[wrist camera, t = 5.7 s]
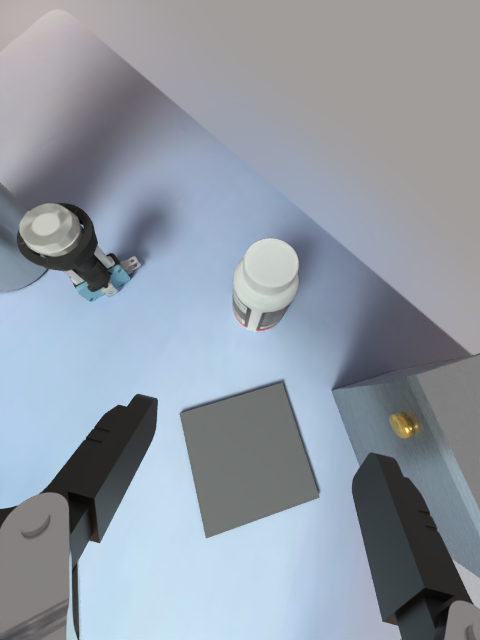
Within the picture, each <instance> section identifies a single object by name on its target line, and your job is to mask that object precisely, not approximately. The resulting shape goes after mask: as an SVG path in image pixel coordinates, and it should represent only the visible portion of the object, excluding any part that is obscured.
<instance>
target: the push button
mask: <svg viewBox="0 0 480 640" xmlns="http://www.w3.org/2000/svg"><path fill="white" fill-rule="evenodd" d="M80 224H82V225H84V229H83V228H82V226H81V225H80ZM19 226H20V228H19V230H18V233H17V246H18V249H19V251H20V252H21V254H22V255H23V256H24V257H25V258H26V259H28V260H29V261H31V262H32V263H34V264H36V265H39V266H43V267H44V268H46V269H53V270H60V271H63V272H65V273H66V274H67V275H69V277H70V279H71V281H72V282H73V284H74V286H75V288H76V289H77V291H78V293H79V294H80V295H82V296H83V297H85V298H86V299H87V300H89V301H94V300H96V299H97V298H99V297H101V296H103V295H104V294H106V295H107V296H108V297H110V296H112V295H114V294H116V293H117V292H118V291H117V290H116V288H117V287H119V286H121V285H122V284H124V283H126V282H128V281H129V280H130V277H129V275H128V274H130V273H132V272H133V270H135V269H137V268H138V267H140V266H141V265H140V263H139V261H138V260H137V258H136V257H135V256H133V257H131V258H129V259H128V260H126V261H125V260H123V261H121V262H119V260H118V259H117V258H116V256H115V255H114V254H113V253H110V254H108V255H105V254H104V253H103V251H102V250H101V249H100V248H99V247H98V246H97V244H98V241H97V238H96V234H95V231H94V226H93V223H92V221H91V219H90V218H89V216H88V215H87V214H86V213H85V212H84V211H83V210H82V209H80V208H79V207H77V206H74V205H71V204H65V203H57V204H50V203H49V204H44V205H40V206H36V207H35V208H33V209H32V210H30V211H29V212H27V213H26V214H25V216H24V217H23V219H22V220H21V222H20V225H19ZM40 253H41V254H42V255H44V256H45V257H46V258H45V257H41V256H40ZM132 259H133V260H134V262H131V260H132ZM134 264H137V266H136V267H134V266H133V265H134ZM111 291H114V292H113V293H111V294H110V292H111Z"/></svg>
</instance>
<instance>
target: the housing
mask: <svg viewBox="0 0 480 640" xmlns="http://www.w3.org/2000/svg"><path fill="white" fill-rule="evenodd" d="M332 393H333V396H334V398H335V401H336V404H337V406H338V409H339V412H340V414H341V417H342V420H343V422H344V425H345V428H346V430H347V433H348V436H349V438H350V441H351V444H352V446H353V449H354V452H355V454H356V457H357V460H358V462H359V465H360V466H361V465H362V463H363V462H364V460H365V459H366V457H367V455H368V454H369V453H371V452H373V453H377V454H381V455H385V456H389V457H393V458H394V459H395V460H396V461H397V462H398V465H399V467H400V469H401V471H402V474H403V476H404V477H407V478H409V479H410V480H411V481H412V483H413V484H414V485H415V486H416V488H417V489H418V490H419V492H420V493H421V494H422V496H423V498H424V500H425V502H426V505H427V507H428V509H429V511H430V516H432V517H433V520H434V522H435V524H436V526H437V531H438V532H439V533H440V535H441V537H442V539H443V541H444V543H445V545H446V548H447V550H448V552H449V554H450V556H451V558H452V559H453V560H455V561H456V562H458V563H459V564H461V565H462V566H463V567H465V568H466V569H468V570H469V571H471V572H472V573H473V574H475V575H476V576H478V577H479V578H480V354H476V355H473V356H468V357H462V358H457V359H452V360H447V361H442V362H436V363H431V364H426V365H421V366H415V367H410V368H405V369H400V370H395V371H392V372H388V373H385V374H382V375H379V376H375V377H372V378H369V379H366V380H363V381H359V382H356V383H353V384H350V385H346V386H343V387H340V388H337V389H333V390H332Z"/></svg>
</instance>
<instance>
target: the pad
mask: <svg viewBox="0 0 480 640" xmlns="http://www.w3.org/2000/svg"><path fill="white" fill-rule="evenodd" d="M180 417H181V422H182V426H183V431H184V436H185V441H186V445H187V450H188V455H189V460H190V464H191V469H192V474H193V479H194V483H195V488H196V493H197V498H198V503H199V507H200V512H201V517H202V522H203V526H204V531H205V536H206V538H209V537H211V536H214V535H217V534H220V533H222V532H225V531H228V530H231V529H234V528H236V527H239V526H242V525H245V524H247V523H250V522H253V521H256V520H258V519H261V518H264V517H267V516H270V515H272V514H275V513H278V512H281V511H283V510H286V509H289V508H292V507H295V506H297V505H300V504H303V503H306V502H308V501H311V500H314V499H317V498H319V494H318V491H317V488H316V485H315V481H314V478H313V475H312V472H311V469H310V466H309V463H308V460H307V457H306V454H305V451H304V448H303V445H302V441H301V438H300V435H299V432H298V429H297V426H296V423H295V420H294V417H293V414H292V411H291V408H290V405H289V402H288V398H287V395H286V392H285V389H284V386H283V383H279V384H276V385H273V386H269V387H266V388H262V389H259V390H256V391H252V392H249V393H246V394H242V395H239V396H236V397H232V398H229V399H226V400H222V401H219V402H216V403H212V404H209V405H206V406H202V407H199V408H195V409H192V410H189V411H185V412H182V413H180Z"/></svg>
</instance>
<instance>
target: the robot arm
mask: <svg viewBox="0 0 480 640" xmlns="http://www.w3.org/2000/svg"><path fill="white" fill-rule="evenodd" d="M27 212H29V210H28V209H27V208H26V207H25V206H24V205H23V204H22V203H21V202H20V201H19V200H18V199H17V198H16V197H15V196H14V195H13V194H12V193H11V192H10V191H9V190H8V189H7V188H6V187H5V186H4V185H2V184H1V183H0V292H10V291H15V290H18V289H21V288H23V287H26V286H27V285H29V284H31V283H32V282H34V281H35V280H37V279H38V278H39V277H40V276H41V275H42V274H43V273H44V272H45V271H46V268H44V267H43V266H39V265H36V264H34V263H32V262H31V261H29V260H28V259H26V258H25V257H24V256H23V255H22V254H21V252H20V251H19V249H18V246H17V233H18V230H19V228H20V226H19V225H20V222H21V220H22V219H23V217H24V216H25V214H26V213H27ZM40 256H41V257H45V256H44V255H42V254H41V253H40ZM45 258H46V257H45ZM157 406H158V400H157V398H153V397H149V396H145V395H141V394H136V395H135V396H134V398H133V399H132V400H131V402H130V403H129V405H128V406H127V407H126V406H122V405H117V406H116V407H114V408H113V409H111V410H110V411H108V412H107V413H105V414H104V415H103V417H102V418H101V419H100V420H99V422H98V423H97V424H96V426H95V428H94V429H92V431H91V432H90V433H89V435H88V436H87V437H86V440H84V441H83V442H82V443H81V445H80V446H79V447H78V449H77V450H76V451H75V452H74V454H73V455H72V456H71V457H70V459H69V460H68V461H67V463H66V464H65V465H64V466H63V468H62V469H61V470H60V472H59V473H58V474H57V475H56V477H55V478H54V479H53V480H52V482H51V483H50V484H49V485H48V486H47V487H46V488H45V489H44V490H43V491H42V492H41V493H40V494H38V495H36V496H33V497H31V498H29V499H27V500H25V501H24V502H22V503H21V504H20V505H18V506H14V507H11V508H5V509H0V640H81V610H80V578H79V558H80V556H81V555H82V553H83V551H84V549H85V547H86V545H87V544H88V542H89V540H90V541H93V542H97V543H100V542H101V540H102V538H103V536H104V534H105V532H106V530H107V528H108V526H109V524H110V522H111V520H112V518H113V516H114V514H115V512H116V510H117V508H118V507H119V505H120V503H121V501H122V499H123V497H124V495H125V493H126V491H127V489H128V487H129V485H130V483H131V481H132V479H133V477H134V475H135V473H136V471H137V469H138V467H139V465H140V463H141V462H142V460H143V458H144V456H145V454H146V452H147V450H148V448H149V446H150V444H151V442H152V439H153V437H154V434H155V430H156V423H157ZM352 494H353V499H354V503H355V507H356V511H357V516H358V520H359V524H360V528H361V532H362V537H363V541H364V545H365V549H366V554H367V558H368V562H369V566H370V570H371V575H372V579H373V583H374V587H375V592H376V596H377V600H378V604H379V608H380V613H381V617H382V621H383V622H386V623H390V624H394V625H397V626H399V630H400V633H401V637H402V638H401V639H400V640H480V609H479V608H477V607H476V606H474V604H473V602H472V601H471V599H470V597H469V595H468V593H467V591H466V589H465V586H464V584H463V582H462V580H461V578H460V576H459V573H458V571H457V569H456V567H455V565H454V563H453V561H452V558H451V556H450V554H449V552H448V550H447V548H446V545H445V543H444V541H443V539H442V537H441V535H440V533H439V532H438V531H437V526H436V524H435V522H434V520H433V517H432V516H430V511H429V509H428V507H427V505H426V502H425V500H424V498H423V496H422V494H421V493H420V492H419V490H418V489H417V488H416V486H415V485H414V484H413V483H412V481H411V480H410V479H409V478H407V477H404V476H403V474H402V471H401V469H400V467H399V465H398V462H397V461H396V460H395V459H394V458H393V457H389V456H385V455H381V454H377V453H373V452H371V453H369V454H368V455H367V457H366V459H365V460H364V462H363V463H362V465H361V466H360V468H359V469H358V471H357V473H356V474H355V476H354V478H353V482H352Z"/></svg>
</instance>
